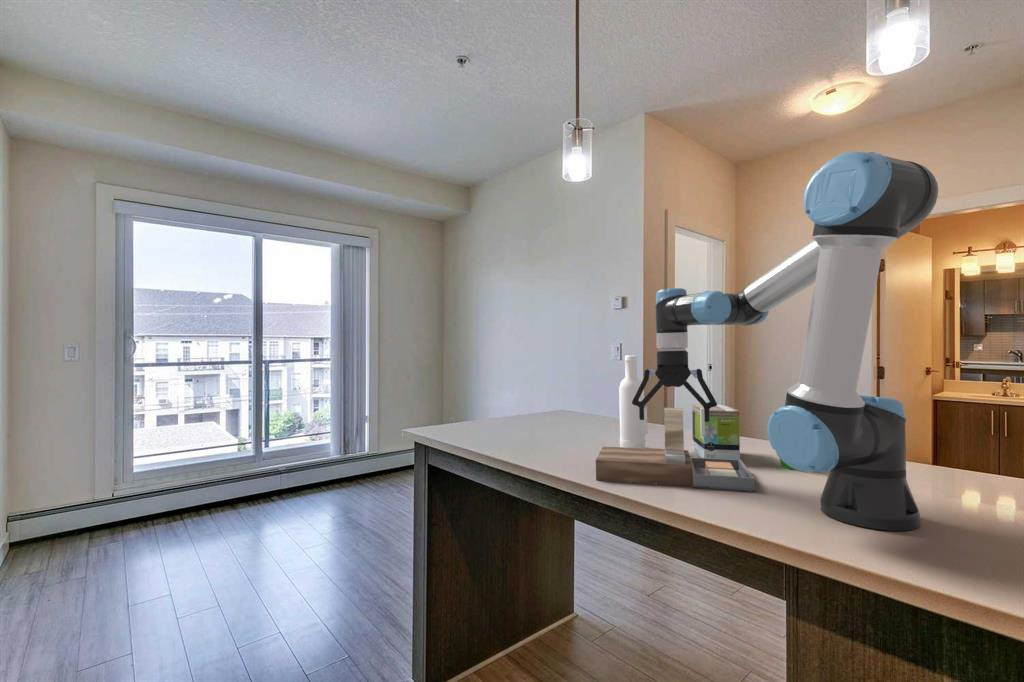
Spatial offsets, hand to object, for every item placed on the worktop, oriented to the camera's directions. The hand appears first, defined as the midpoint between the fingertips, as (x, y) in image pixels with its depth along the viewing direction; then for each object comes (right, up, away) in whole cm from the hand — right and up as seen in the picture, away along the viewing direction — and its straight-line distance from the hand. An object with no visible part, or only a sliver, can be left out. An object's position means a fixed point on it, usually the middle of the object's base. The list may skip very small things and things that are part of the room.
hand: (673, 433), depth 119 cm
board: (-7, -11, +2) cm, 13 cm away
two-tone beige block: (0, -6, 0) cm, 6 cm away
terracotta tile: (+12, -8, 0) cm, 14 cm away
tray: (+10, -10, -3) cm, 15 cm away
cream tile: (+9, -8, -7) cm, 14 cm away
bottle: (-2, -11, +32) cm, 34 cm away
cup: (+34, -10, +6) cm, 36 cm away
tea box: (+19, -11, +20) cm, 30 cm away
